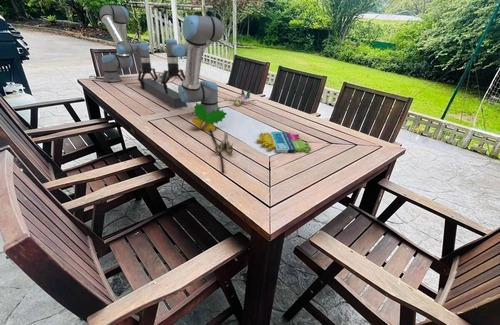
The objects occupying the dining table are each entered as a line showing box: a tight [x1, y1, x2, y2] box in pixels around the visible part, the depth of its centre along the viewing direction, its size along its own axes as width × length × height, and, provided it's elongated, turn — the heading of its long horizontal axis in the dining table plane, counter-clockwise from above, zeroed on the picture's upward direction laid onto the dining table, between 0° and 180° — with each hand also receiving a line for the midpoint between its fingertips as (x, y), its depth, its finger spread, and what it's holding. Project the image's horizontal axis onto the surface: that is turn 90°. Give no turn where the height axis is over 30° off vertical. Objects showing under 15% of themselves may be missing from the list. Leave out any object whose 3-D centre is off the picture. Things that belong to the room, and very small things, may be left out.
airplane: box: [155, 71, 181, 82], centre depth 278 cm, size 38×31×10 cm
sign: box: [256, 131, 312, 154], centre depth 152 cm, size 26×2×30 cm
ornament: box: [191, 102, 228, 132], centre depth 162 cm, size 21×8×15 cm, turn 105°
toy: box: [223, 89, 257, 106], centre depth 219 cm, size 28×7×30 cm
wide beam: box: [139, 78, 188, 109], centre depth 219 cm, size 70×10×7 cm, turn 39°
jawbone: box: [214, 131, 234, 156], centre depth 136 cm, size 9×15×10 cm
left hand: (149, 88), depth 238 cm, fingers closed on wide beam, 10 cm apart
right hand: (175, 92), depth 198 cm, fingers open, 13 cm apart
